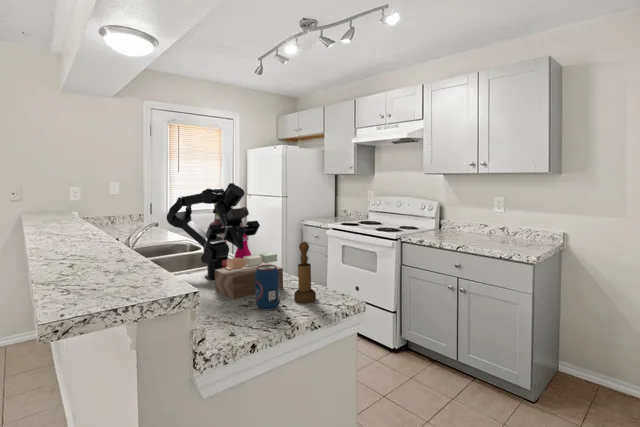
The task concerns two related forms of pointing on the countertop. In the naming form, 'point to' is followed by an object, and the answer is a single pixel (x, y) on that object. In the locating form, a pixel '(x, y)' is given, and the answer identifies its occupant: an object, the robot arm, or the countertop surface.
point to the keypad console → (240, 281)
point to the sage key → (268, 257)
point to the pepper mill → (245, 250)
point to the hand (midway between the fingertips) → (241, 248)
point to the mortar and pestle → (304, 278)
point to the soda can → (267, 287)
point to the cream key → (253, 260)
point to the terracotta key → (236, 263)
